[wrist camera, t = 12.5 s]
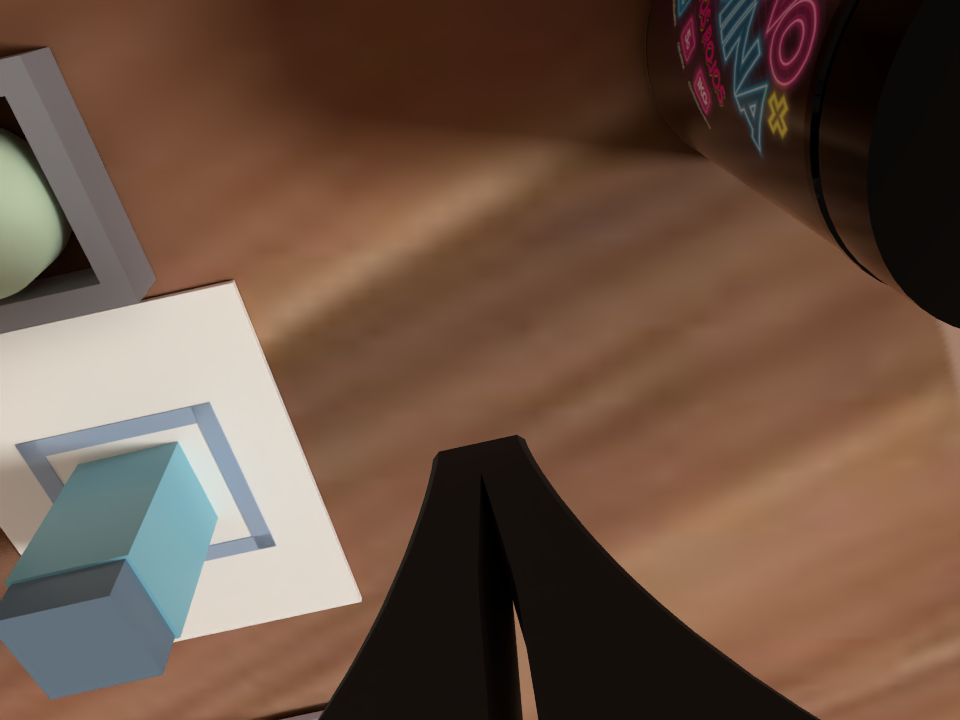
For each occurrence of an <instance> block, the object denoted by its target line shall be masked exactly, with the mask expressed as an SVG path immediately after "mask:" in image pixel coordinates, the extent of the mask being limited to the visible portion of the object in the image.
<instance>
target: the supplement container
mask: <svg viewBox="0 0 960 720" xmlns="http://www.w3.org/2000/svg"><path fill="white" fill-rule="evenodd" d="M644 53H645V66H646V72H647V77H648V82H649V85H650V89H651V92H652V95H653V98H654V100H655V103H656V105H657V107H658V109H659V111H660V113H661V114H662V116H663V118H664V119H665V121H666V122H667V124H668V125H669V126H670V128H671V129H672V130H673V131H674V132H675V133H676V134H677V136H678V137H679V138H681V139H682V140H683V141H684V142H685V143H686V144H687V145H689V146H690V147H692V148H693V149H695V150H696V151H698V152H699V153H701V154H702V155H703V156H705V157H706V158H708V159H709V160H711V161H712V162H714V163H715V164H717V165H718V166H719V167H721V168H722V169H724V170H725V171H727V172H728V173H730V174H731V175H732V176H734V177H735V178H737V179H738V180H740V181H741V182H743V183H744V184H746V185H747V186H748V187H750V188H751V189H753V190H754V191H756V192H757V193H759V194H760V195H762V196H763V197H764V198H766V199H767V200H769V201H770V202H772V203H773V204H775V205H776V206H778V207H779V208H780V209H782V210H783V211H785V212H786V213H788V214H789V215H791V216H792V217H794V218H795V219H796V220H798V221H799V222H801V223H802V224H804V225H805V226H807V227H808V228H810V229H811V230H812V231H814V232H815V233H817V234H818V235H820V236H821V237H823V238H824V239H826V240H827V241H828V242H830V243H831V244H833V245H834V246H836V247H837V248H839V249H840V250H841V251H842V253H843V254H844V255H845V256H846V257H847V258H848V259H850V260H851V261H852V262H853V263H854V264H855V265H856V266H857V267H859V268H860V269H862V270H863V271H865V272H866V273H868V274H869V275H871V276H872V277H874V278H875V279H877V280H878V281H880V282H882V283H884V284H886V285H888V286H890V287H891V288H893V289H894V290H896V291H897V292H899V293H900V294H901V295H903V296H904V297H906V298H907V299H909V300H910V301H912V302H913V303H914V304H916V305H917V306H919V307H920V308H922V309H923V310H925V311H926V312H928V313H929V314H931V315H932V316H934V317H935V318H937V319H939V320H941V321H943V322H945V323H947V324H949V325H951V326H954V327H957V328H960V0H651V2H650V5H649V10H648V15H647V20H646V29H645V46H644Z"/></svg>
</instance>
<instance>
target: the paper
mask: <svg viewBox="0 0 960 720" xmlns="http://www.w3.org/2000/svg"><path fill="white" fill-rule="evenodd" d="M174 442H179V444H180V446H181V448H182V450H183V452H184V453H185V455H186V457H187V459H188V461H189V463H190V465H191V467H192V469H193V471H194V473H195V474H196V476H197V478H198V480H199V482H200V484H201V486H202V488H203V490H204V492H205V493H206V495H207V497H208V499H209V501H210V503H211V505H212V507H213V509H214V511H215V513H216V514H217V516H218V519H217V523H216V526H215V529H214V532H213V535H212V538H211V542H210V545H209V548H208V551H207V554H206V558H205V561H204V564H203V567H202V570H201V574H200V577H199V580H198V583H197V586H196V589H195V593H194V596H193V599H192V602H191V605H190V609H189V612H188V615H187V618H186V621H185V624H184V628H183V631H182V634H181V637H180V638H177V639H174V642H176V641H181V640H186V639H190V638H195V637H200V636H204V635H209V634H214V633H218V632H223V631H228V630H232V629H237V628H242V627H246V626H251V625H256V624H260V623H265V622H269V621H274V620H279V619H283V618H288V617H293V616H297V615H302V614H307V613H311V612H316V611H321V610H325V609H330V608H335V607H339V606H344V605H349V604H353V603H358V602H362V597H361V594H360V592H359V589H358V587H357V584H356V582H355V579H354V577H353V574H352V572H351V569H350V567H349V565H348V562H347V560H346V557H345V555H344V552H343V550H342V547H341V545H340V542H339V540H338V537H337V535H336V532H335V530H334V527H333V525H332V522H331V520H330V517H329V515H328V512H327V510H326V507H325V505H324V502H323V500H322V497H321V495H320V492H319V490H318V487H317V485H316V483H315V480H314V478H313V475H312V473H311V470H310V468H309V465H308V463H307V460H306V458H305V455H304V453H303V450H302V448H301V445H300V443H299V440H298V438H297V435H296V433H295V430H294V428H293V425H292V423H291V420H290V418H289V415H288V413H287V410H286V408H285V405H284V403H283V401H282V398H281V396H280V393H279V391H278V388H277V386H276V383H275V381H274V378H273V376H272V373H271V371H270V368H269V366H268V363H267V361H266V358H265V356H264V353H263V351H262V348H261V346H260V343H259V341H258V338H257V336H256V333H255V331H254V328H253V326H252V324H251V321H250V319H249V316H248V314H247V311H246V309H245V306H244V304H243V301H242V299H241V296H240V294H239V291H238V289H237V286H236V284H235V281H234V280H231V281H227V282H222V283H218V284H213V285H208V286H204V287H199V288H195V289H190V290H186V291H181V292H177V293H172V294H168V295H163V296H159V297H154V298H150V299H145V300H141V301H140V302H139V303H135V304H130V305H126V306H121V307H117V308H112V309H108V310H103V311H99V312H94V313H90V314H85V315H81V316H76V317H72V318H67V319H62V320H58V321H53V322H49V323H44V324H40V325H35V326H31V327H26V328H22V329H17V330H13V331H8V332H4V333H0V527H1V528H2V530H3V531H4V532H5V534H6V535H7V537H8V538H9V539H10V541H11V542H12V544H13V545H14V546H15V548H16V549H17V551H18V552H19V553H20V555H21V556H22V554H23V552H24V551H25V549H26V548H27V546H28V544H29V543H30V541H31V539H32V538H33V536H34V535H35V533H36V531H37V530H38V528H39V526H40V525H41V523H42V522H43V520H44V518H45V517H46V515H47V513H48V512H49V510H50V509H51V507H52V505H53V504H54V502H55V500H56V499H57V497H58V496H59V494H60V492H61V491H62V489H63V487H64V486H65V484H66V483H67V481H68V479H69V478H70V476H71V474H72V473H73V471H74V470H75V468H76V466H77V465H78V464H82V463H86V462H90V461H95V460H99V459H104V458H108V457H112V456H117V455H121V454H125V453H130V452H134V451H139V450H143V449H147V448H152V447H156V446H161V445H165V444H169V443H174Z"/></svg>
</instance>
